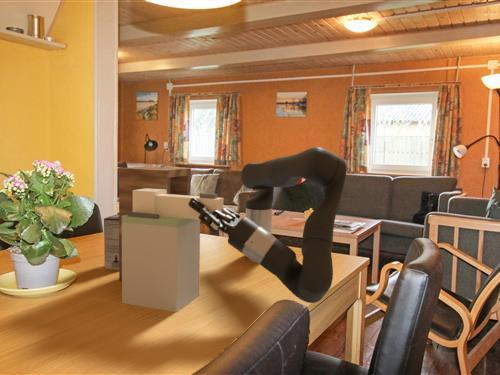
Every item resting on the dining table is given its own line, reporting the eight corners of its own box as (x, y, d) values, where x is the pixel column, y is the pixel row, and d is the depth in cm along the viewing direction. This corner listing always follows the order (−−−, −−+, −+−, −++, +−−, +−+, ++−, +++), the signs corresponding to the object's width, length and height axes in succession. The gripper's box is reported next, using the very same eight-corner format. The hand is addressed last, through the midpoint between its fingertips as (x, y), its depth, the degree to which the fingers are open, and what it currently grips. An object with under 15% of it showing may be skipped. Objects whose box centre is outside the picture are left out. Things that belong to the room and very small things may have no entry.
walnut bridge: (146, 268, 136) (146, 166, 133) (189, 274, 131) (190, 168, 128) (119, 281, 123) (118, 168, 120) (165, 287, 118) (166, 170, 115)
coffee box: (118, 261, 143) (118, 213, 141) (136, 263, 142) (136, 214, 140) (103, 269, 134) (103, 217, 132) (122, 270, 133) (122, 219, 131)
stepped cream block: (146, 211, 112) (146, 188, 111) (224, 217, 105) (225, 193, 104) (132, 214, 106) (132, 190, 106) (214, 221, 99) (215, 195, 98)
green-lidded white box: (149, 288, 117) (149, 205, 115) (199, 295, 112) (200, 209, 110) (122, 302, 106) (121, 211, 104) (176, 312, 101) (177, 216, 99)
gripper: (270, 222, 105) (214, 184, 109) (250, 233, 92) (188, 189, 96) (254, 247, 107) (201, 208, 111) (233, 261, 94) (173, 217, 98)
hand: (195, 200), depth 104 cm, fingers open, 4 cm apart
